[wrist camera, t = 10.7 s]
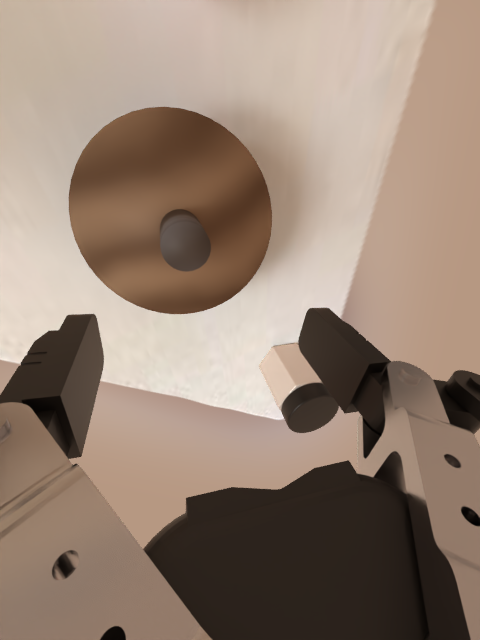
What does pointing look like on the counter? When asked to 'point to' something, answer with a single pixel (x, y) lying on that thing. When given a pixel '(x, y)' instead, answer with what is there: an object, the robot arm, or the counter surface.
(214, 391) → the counter surface
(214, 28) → the counter surface
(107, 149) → the walnut lid
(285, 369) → the jar
